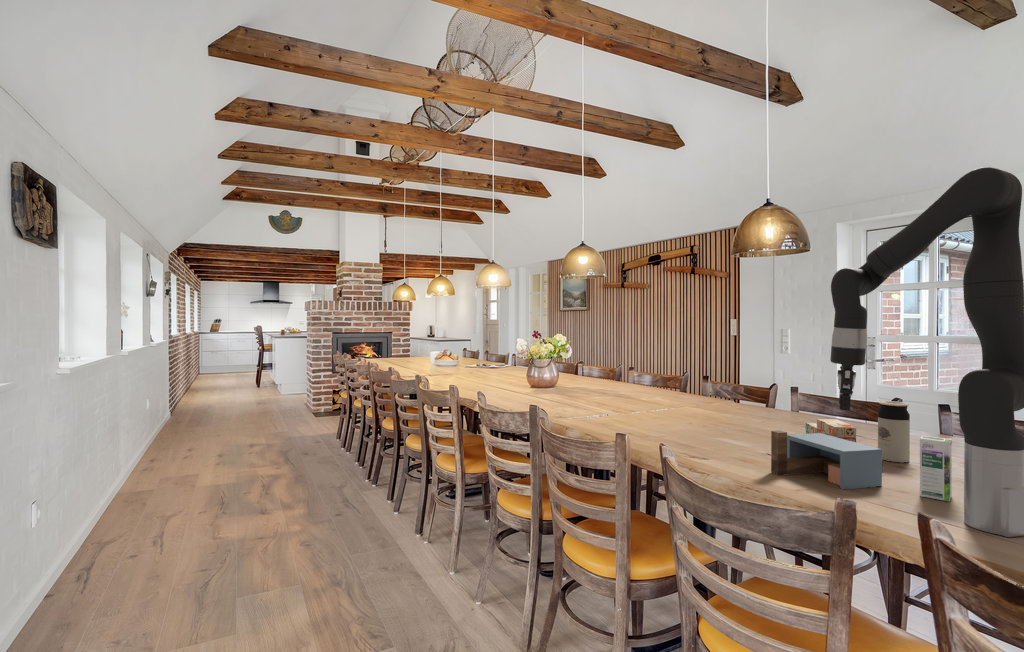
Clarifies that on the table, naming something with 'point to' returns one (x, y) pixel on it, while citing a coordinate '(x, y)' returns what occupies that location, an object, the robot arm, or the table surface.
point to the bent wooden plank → (794, 458)
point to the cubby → (841, 458)
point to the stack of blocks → (832, 429)
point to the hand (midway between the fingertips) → (844, 407)
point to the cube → (834, 473)
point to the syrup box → (936, 468)
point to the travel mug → (894, 431)
